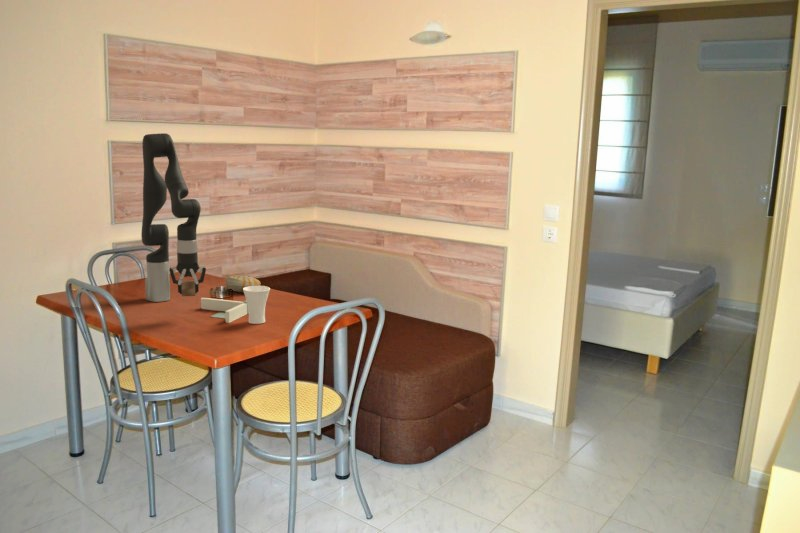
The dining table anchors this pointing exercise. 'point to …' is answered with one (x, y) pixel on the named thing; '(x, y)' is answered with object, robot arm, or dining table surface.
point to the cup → (256, 302)
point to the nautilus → (241, 282)
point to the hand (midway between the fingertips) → (188, 293)
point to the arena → (225, 308)
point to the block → (188, 288)
